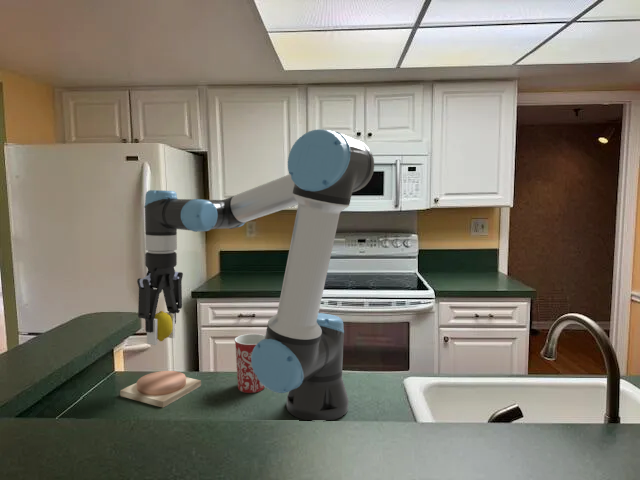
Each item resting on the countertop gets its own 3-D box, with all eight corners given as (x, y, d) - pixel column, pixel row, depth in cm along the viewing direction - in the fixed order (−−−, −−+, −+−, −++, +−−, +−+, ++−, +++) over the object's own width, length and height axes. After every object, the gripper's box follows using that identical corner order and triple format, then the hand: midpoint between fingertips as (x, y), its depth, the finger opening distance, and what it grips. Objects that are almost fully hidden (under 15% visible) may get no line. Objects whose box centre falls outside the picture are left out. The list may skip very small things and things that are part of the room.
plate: (201, 385, 118) (201, 375, 118) (163, 407, 105) (163, 395, 105) (160, 376, 123) (160, 366, 123) (120, 396, 111) (120, 384, 110)
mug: (250, 398, 111) (250, 346, 110) (227, 388, 117) (227, 338, 116) (284, 383, 121) (285, 335, 120) (261, 374, 127) (262, 328, 126)
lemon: (174, 337, 116) (174, 308, 115) (169, 344, 111) (170, 313, 110) (152, 338, 115) (153, 308, 115) (147, 344, 110) (147, 313, 109)
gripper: (175, 247, 121) (175, 329, 123) (120, 253, 104) (121, 348, 106) (197, 249, 118) (196, 333, 120) (144, 256, 101) (144, 354, 103)
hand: (161, 340), depth 113 cm, fingers closed on lemon, 5 cm apart
